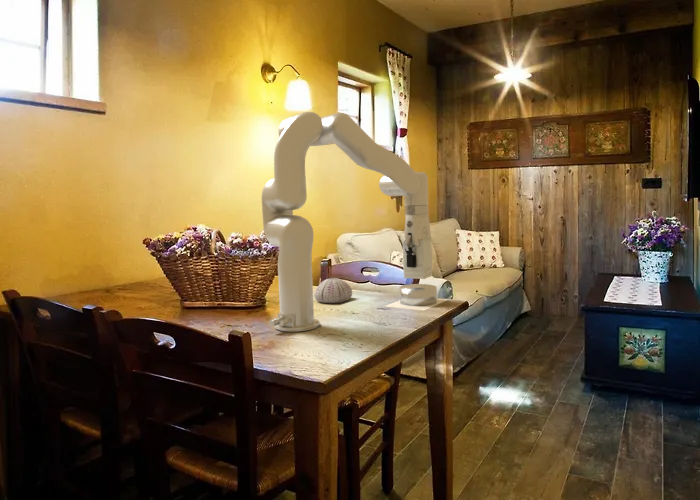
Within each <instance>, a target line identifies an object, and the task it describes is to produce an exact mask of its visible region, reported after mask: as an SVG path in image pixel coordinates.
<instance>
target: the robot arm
mask: <svg viewBox="0 0 700 500" xmlns="http://www.w3.org/2000/svg"><path fill="white" fill-rule="evenodd" d="M278 136H279V137H278V140H277V142H276V144H275V149H274V153H273V165H274V166H273V170H274V171H273V173H274V177H273V178H270V179H269V180H268V181H267V182H266V183H265V184H264V186H263V188H262V191H261V211H262V212H261V213H262V225H263V233H264V237H265V239H266V241H268V243H269V244H270V245H272V246H274V247H277V248H279V252H278V256H277V276H278V277H277V279H278V281H277V282H278V297H279V298H278V299H279V302H278V303H279V312H278V313H277V317H276V318H272V319H270V320H269V321H268V325H269V327H272V328H273V327H274V328H275V329H276V330H277V331H281V332H287V333H292V332H293V333H294V332H297V333H298V332H305V331H310V330H311V331H312V330H314V329H316V328H318V327H320V320H318V319H317V318H315V314H314V313H315V312H314V311H315V310H314V290H313V289H314V287H313V286H314V285H313V266H312V264H313V262H312V258H313V256H312V255H313V246H314V245H313V244H314V238H315V237H314V228H313V226H312V224H311V223H310V221H309V220H308V219H306V218H305V217H303V216H301V215H297V214H294V211H296V210H299V209H301V208H302V207H303V206H304V205H305V204H306V202H307V179H306V178H307V177H306V156H307V153H308V151H309V149H310V147H319V146H321V147H322V146H327V145H328V146H329V145H336V146H337V147H338V148H339V149H340V150H341V151H343V153H344V154H345V155H346V156H348V157H349V158H350V160H352V161H353V162H354V164H356V165H357V166H359V167H361V168H364V169H366V170H370V171H373V172H376V173H379V174H381V175H382V176H381V178H380V179H379V182H378V187H379V190H380V191H381V193H383V194H384V195H386V196H387V197H388V196H389V197H399V196H400V197H404V217H405V218H404V219H405V220H404V221H405V222H404V239H405V241H404V243H403V242H402V246H403V245H404V247H405V251H406V255H407V267H413V268H415V267H416V255H415V252H416V246H417V247H420V240H422V239H427V238H431V239H432V237H431V224H430V217H429V182H428V181H429V179H428V175H427V173H426V172H423V171H419V172H418V171H415V169H413V167H411V165H410V164H409V163H408V162H406V160H404V158H402V157H400V156H399V155H397V154H395V153H393V152H392V151H390V150H388V149H387V148H386V147H383V146H381V145H379V144H378V143H377V142H376V141H374V139H373V138H372V137H370V136H369V135H368V134H367V132H365V130H364V129H363V128H362V127H361V126H360V125H358V124H357V123H356V122H355V120H353V118H352V117H350V116H349V115H348V114H346V113H344V112H335V113H332V114H328V115H324V116H320V115H319V114H318V113H316V112H314V111H304V112H301V113H298V114H295V115H291V116H289V117H287V118H285V119H283V120H282V121H281V122H280V124H279V127H278ZM411 240H412V241H413V243H414V245H409V243H410V241H411ZM411 248H413V250H412V249H411Z"/></svg>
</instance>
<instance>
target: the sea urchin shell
mask: <svg viewBox="0 0 700 500" xmlns="http://www.w3.org/2000/svg"><path fill="white" fill-rule="evenodd" d="M352 296H353V289H352V288H351V286H350V285H349V283H347V282H346V281H344V280H343V279H341V278H338V277H337V278H336V277H330V278H327V279H324V280H322V281H321V282H320V283H319V284H318V286H317V288H316V289H315V291H314V293H313V297H314V299H315V300H316V301H317V302H319V303H322V304H337V303H339V304H340V303H344V302H347V301H350V300H351V298H352Z"/></svg>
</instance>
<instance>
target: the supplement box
mask: <svg viewBox="0 0 700 500" xmlns="http://www.w3.org/2000/svg"><path fill="white" fill-rule="evenodd" d="M401 241H402V259H403V260H402V264H403V279H415V280H417V279H419V280H425V279H428V278H430V277H432V276H433V258H432V255H433V254H432V252H433V251H432V249H433V248H432V237H431V238H427V239H422V240H420V247H417V246H416V252H415V255H416V267H415V268H413V267H407V255H406V251H405V247H404V245H403V243H404V241H405V238H404V239H402V240H401ZM409 245H414V243H413V241H412V240H411V241H410V243H409ZM411 249H412V250H413V248H411Z"/></svg>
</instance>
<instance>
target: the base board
mask: <svg viewBox="0 0 700 500" xmlns="http://www.w3.org/2000/svg"><path fill="white" fill-rule="evenodd" d="M446 301H448V298H447V299H444V298H437V303H436V304H434V305H429V306H407V305H403V304H400V299H399V300H398V301H397V300H396V301H395V302H392V303H390V304H386V305H384V307H387V308H396V309H403V310H405V309H406V310H412V311H413V310H415V311H426V310H428V309H431V308H433V307H436V306H438V305H439V304H440V305H441V304H443V303H444V302H446Z"/></svg>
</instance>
